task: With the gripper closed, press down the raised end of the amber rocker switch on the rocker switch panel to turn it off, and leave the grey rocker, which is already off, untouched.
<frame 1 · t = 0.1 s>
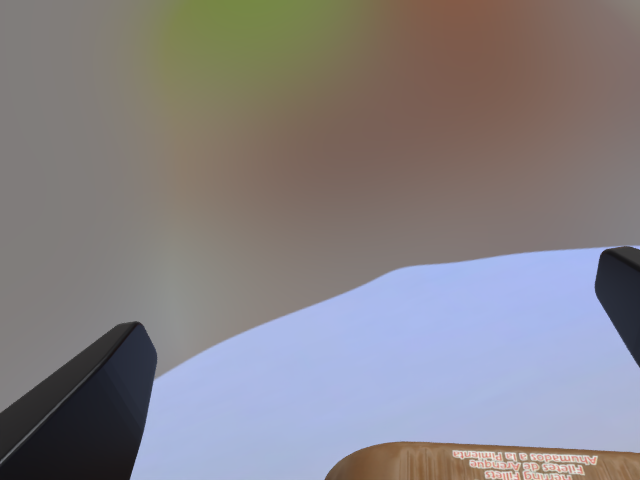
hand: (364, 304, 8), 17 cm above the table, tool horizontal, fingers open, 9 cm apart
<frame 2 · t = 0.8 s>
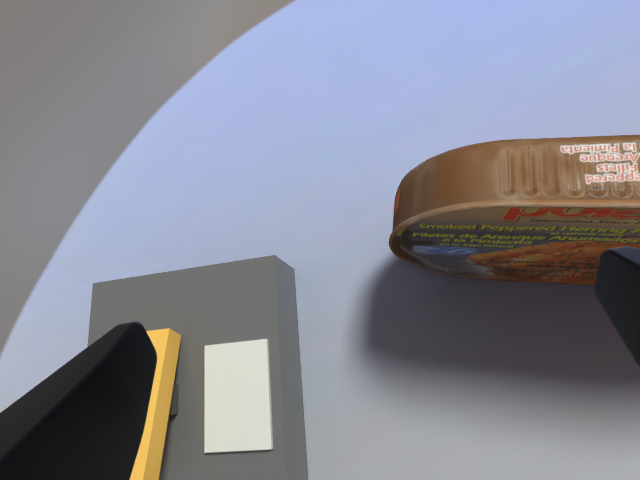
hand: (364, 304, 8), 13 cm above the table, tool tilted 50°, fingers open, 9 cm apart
tin: (561, 252, 20), on the table
amber rocker: (126, 404, 18), point 4 cm above the table, hinge at 14.0°
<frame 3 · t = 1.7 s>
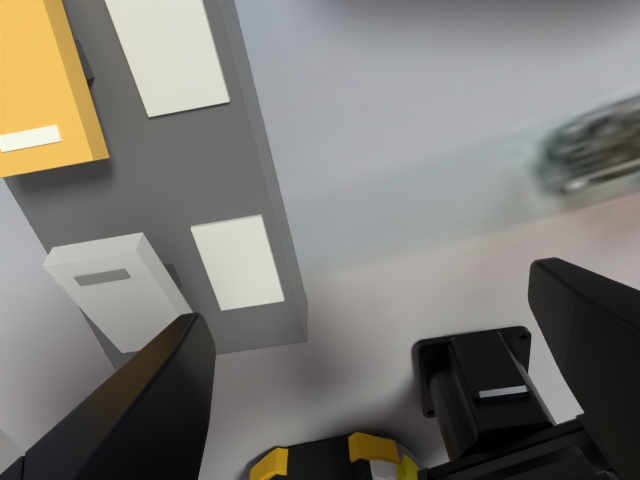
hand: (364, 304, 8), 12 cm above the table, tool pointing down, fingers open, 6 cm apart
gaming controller: (334, 470, 32), on the table
rocker switch panel: (156, 146, 19), on the table
amber rocker: (17, 73, 13), point 4 cm above the table, hinge at 14.0°
grey rocker: (131, 299, 17), point 4 cm above the table, hinge at -14.0°
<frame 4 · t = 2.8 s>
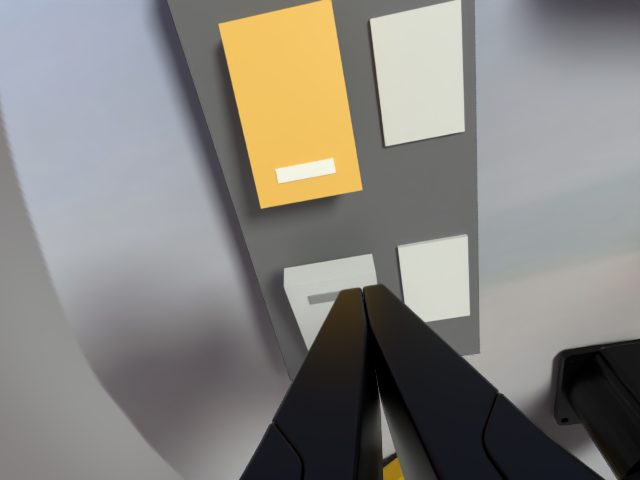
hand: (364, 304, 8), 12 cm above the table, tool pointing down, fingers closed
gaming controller: (453, 473, 32), on the table
rocker switch panel: (349, 169, 20), on the table
amber rocker: (295, 111, 14), point 4 cm above the table, hinge at 14.0°
grey rocker: (340, 315, 18), point 4 cm above the table, hinge at -14.0°
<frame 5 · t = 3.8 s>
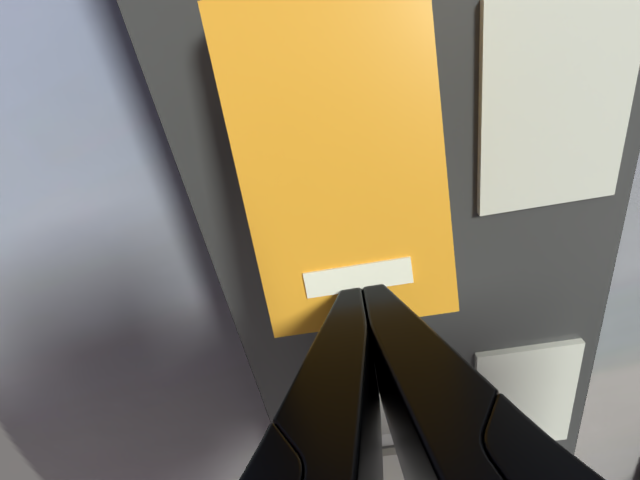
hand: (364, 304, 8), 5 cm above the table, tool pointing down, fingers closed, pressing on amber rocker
rocker switch panel: (396, 228, 13), on the table
amber rocker: (340, 167, 8), point 4 cm above the table, hinge at 13.9°, touching gripper
grey rocker: (386, 457, 12), point 4 cm above the table, hinge at -14.0°
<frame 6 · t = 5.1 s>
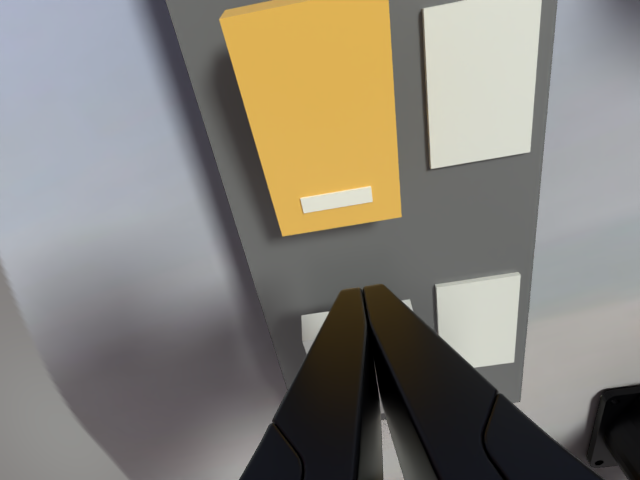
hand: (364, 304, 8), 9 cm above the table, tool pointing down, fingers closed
rocker switch panel: (375, 189, 17), on the table
amber rocker: (324, 126, 11), point 4 cm above the table, hinge at -9.0°
grey rocker: (365, 367, 15), point 4 cm above the table, hinge at -14.0°
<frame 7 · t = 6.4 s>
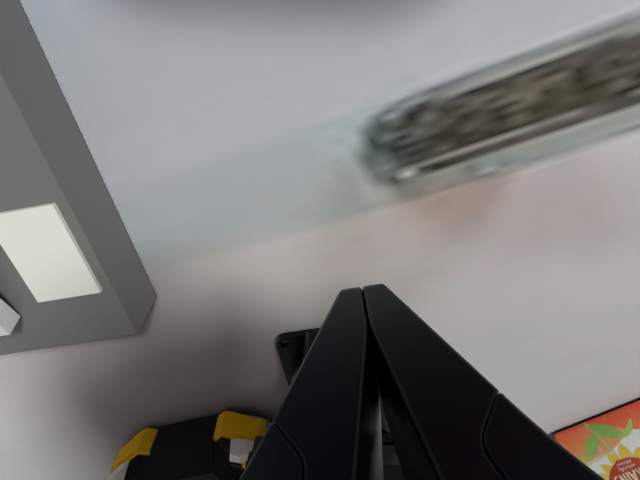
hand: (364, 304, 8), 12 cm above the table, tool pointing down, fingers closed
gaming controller: (217, 453, 30), on the table
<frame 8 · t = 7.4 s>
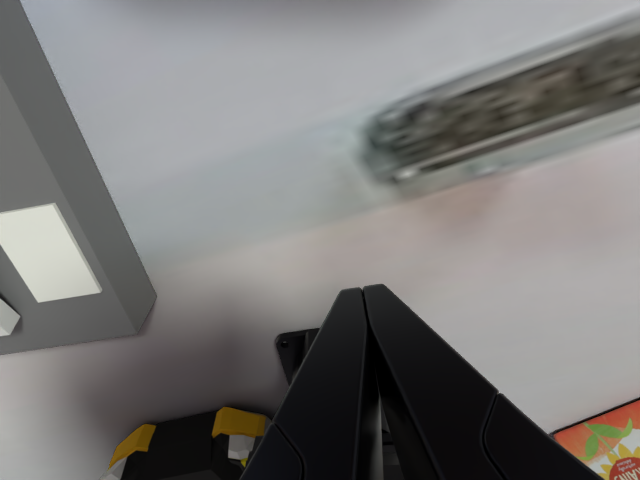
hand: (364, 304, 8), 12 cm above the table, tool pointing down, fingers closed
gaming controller: (216, 449, 30), on the table
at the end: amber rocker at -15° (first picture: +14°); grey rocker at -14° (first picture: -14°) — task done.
